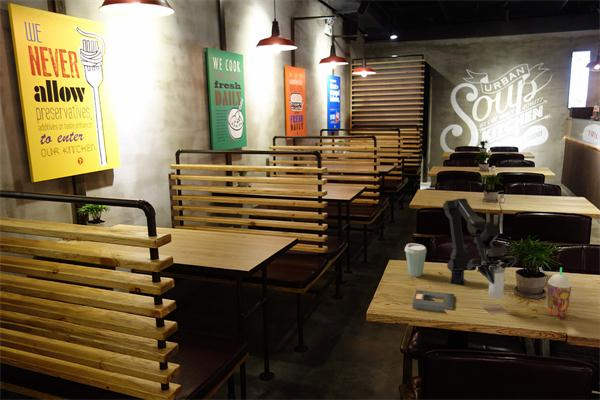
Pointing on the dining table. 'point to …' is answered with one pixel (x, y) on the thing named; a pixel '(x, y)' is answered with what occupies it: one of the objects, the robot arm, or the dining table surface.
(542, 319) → the dining table surface
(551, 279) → the smoothie
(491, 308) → the pad
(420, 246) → the disposable coffee cup
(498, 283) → the grey square peg
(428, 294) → the flange plate
